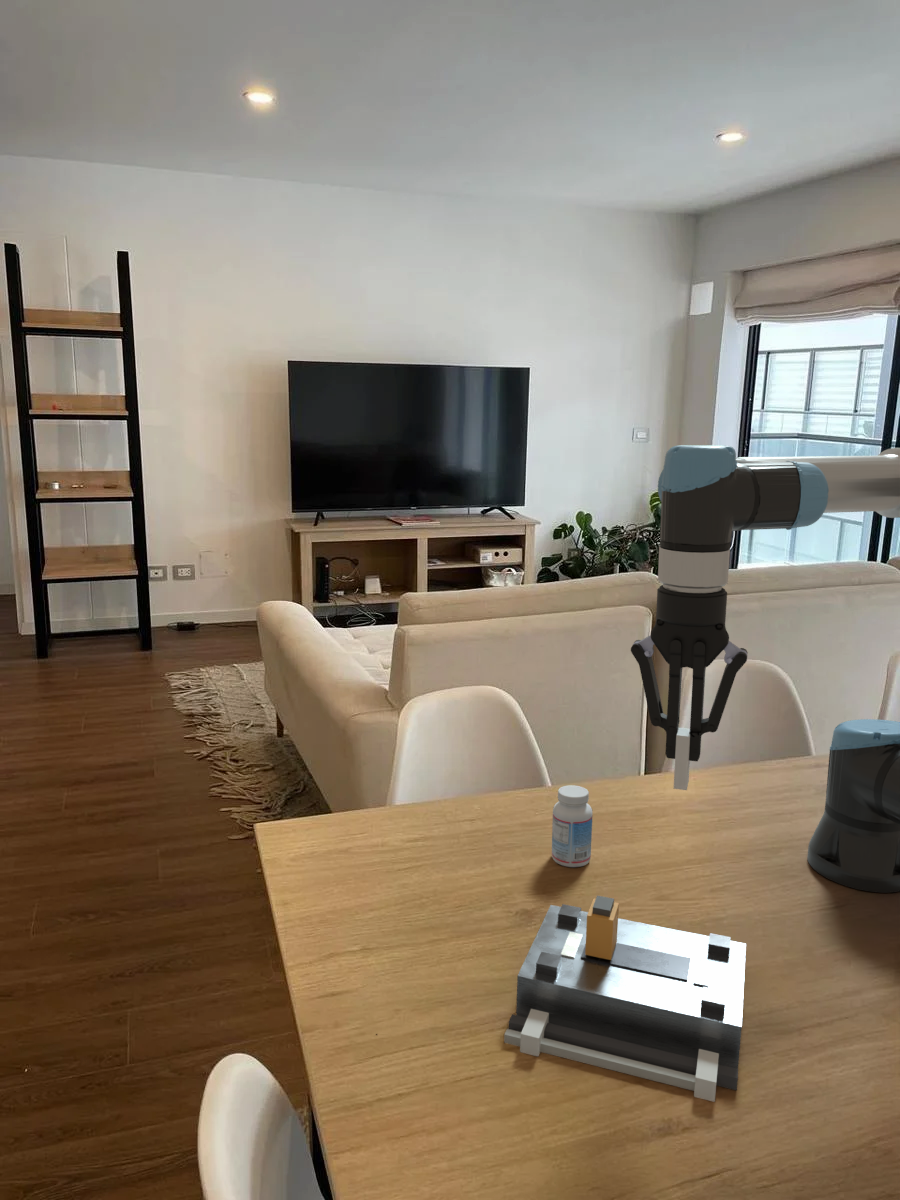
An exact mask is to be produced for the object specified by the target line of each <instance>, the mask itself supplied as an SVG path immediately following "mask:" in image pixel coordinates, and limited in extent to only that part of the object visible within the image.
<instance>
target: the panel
mask: <svg viewBox="0 0 900 1200" xmlns="http://www.w3.org/2000/svg"><path fill="white" fill-rule="evenodd" d="M588 912H589V911H584V910H582V907H579V906H574V905H569V904H563V903H562V904H561V905H560V906H558V905H552V904H550V905H549V908H548V910H547V912H546V914H545V916H544V917H543V921H542V923H541V925H540V926H539V927H540V928H539V929H538V932H537V933H536V936H535V937H534V940H533V942H532V944H531V946H530V948H529V950H528V953H527V955H526V957H525V959H524V961H523V963H522V965H521V967H520V970H519V971H518V974H517V978H516V1005H515V1006H516V1008H515V1011H516V1012H515V1015H518V1016H522V1017H526V1018H528V1015H529V1013H530V1010H531V1009H535V1010H539V1011H543V1012H547V1013H549V1022H548V1023H551V1024H555V1025H559V1026H563V1027H567V1028H571V1029H575V1030H579V1031H584V1032H588V1033H592V1034H596V1035H600V1036H604V1037H608V1038H612V1039H616V1040H621V1041H625V1042H629V1043H633V1044H637V1045H641V1046H645V1047H649V1048H654V1049H658V1050H662V1051H666V1052H670V1053H674V1054H678V1055H682V1056H687V1057H691V1058H695V1059H698V1052H699V1049H702V1050H706V1051H711V1052H715V1053H719V1058H718V1064H719V1065H724V1066H728V1067H732V1068H736V1069H738V1070H739V1064H740V1063H739V1062H740V1052H741V1049H740V1048H741V1039H742V1026H743V1010H744V991H745V990H744V989H745V973H746V972H745V970H746V952H747V943H745V942H740V941H736V940H731V936H727V935H722V934H716V933H711V932H709V935H705V934H700V933H695V932H689V931H685V930H678V929H674V928H670V927H669V928H668V927H664V926H659V925H654V924H648V923H643V922H639V921H633V920H630V919H629V920H628V919H625V918H624V919H623V918H620V917H618V928H617V942H616V946H615V949H614V952H613V955H612V959H611V960H608V959H603V958H599V957H594V956H589V955H585V948H586V928H587V914H588Z"/></svg>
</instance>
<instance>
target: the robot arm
mask: <svg viewBox="0 0 900 1200" xmlns="http://www.w3.org/2000/svg"><path fill="white" fill-rule="evenodd" d="M664 457H665V458H664V463H663V469H662V470H661V473H660V474H659V477H658V480H657V481H658V482H657V483H658V484H657V492H658V498H659V500H660V502H661V504H660V505H661V506H660V508H661V509H660V530H659V531H660V533H659V534H660V535H659V539H660V540H659V542H660V543H659V547H658V570H657V581H659V582H660V583H661V584H662V585H659V587H658V588H657V589H656V590H657V591H656V592H657V593H656V611H655V614H656V615H655V623H654V626H653V627H652V629H651V631H650V635H648V636H646V637H645V638H642V639H636V640H635V641H634V642H633V643H632V646H631V647H630V653H631V654H632V655H633V658H634V659H635V661H636V662H637V664H638V665H639V671H640V675H641V676H640V677H641V681H642V685H643V690H644V696H645V700H646V706H647V711H648V715H649V719H650V724H651V725H652V726H654V727H660V728H662V730H664V731H665V735H666V736H665V737H666V738H665V756H666V758H667V759H673V760H674V773H673V789H674V790H681V791H687V790H688V786H689V782H690V763H691V762H699V759H700V757H701V748H702V736H703V735H704V734H705V733H706V734H707V733H715V732H717V731H718V728H719V725H720V722H721V720H722V717H723V714H724V711H725V708H726V705H727V702H728V700H729V696H730V693H731V690H732V687H733V684H734V682H735V679H736V675H737V673H738V672H739V671H740V669H742V668H743V666H745V664H746V663H747V661H748V653H749V652H748V650H747V649H746V648H744V647H738V646H737V645H736V644H734V643H733V642H732V641H730V635H729V633H728V631H727V627H726V617H727V604H728V603H727V601H728V592H727V591H726V589H725V588H724V587H725V586H727V584H728V582H729V569H730V555H731V541H732V534H733V533H732V532H740V531H749V530H750V531H752V530H753V531H754V530H756V531H757V530H779V529H780V530H781V529H782V530H783V529H785V530H787V531H789V530H792V529H795V528H803V527H804V528H805V527H809V526H812V525H814V524H815V523H816V522H818V521H819V520H820V519H821V517H823V514H827V513H828V514H832V513H834V514H835V513H858V512H859V513H860V512H863V513H865V512H876V513H877V514H879V515H881V516H882V517H885V518H891V519H894V518H895V519H896V518H898V519H899V518H900V447H892V448H891V447H890V448H887V449H885V450H883V451H882V452H880V453H879V454H877V455H828V456H827V455H822V456H820V455H819V456H816V455H815V456H807V455H805V456H751V457H750V456H742V457H741V456H739V457H737V453H736V449H735V448H734V447H732V446H730V445H716V444H714V445H713V444H712V445H709V444H708V445H707V444H701V445H700V444H699V445H698V444H695V445H694V444H692V445H691V444H686V445H685V444H681V445H674V446H672V447H670V448H669V449H668V450H667V451H666V454H665V456H664ZM654 645H655V647H656V649H657V650H658V651H659V653H660V655H661V656H662V658H663V659H664V660H665V662H666V663H667V664H668V665H669V667H668V675H669V676H668V691H667V692H668V693H667V710H666V711H667V712H666V713H667V714H666V713H665V712H664V710H663V705H662V701H661V700H662V699H661V695H660V690H659V685H658V679H657V675H656V670H655V664H654V661H653V657H652V656H653V654H654V652H655V649H654ZM723 651H724V652H725V654H724V658H723V660H724V662H725V663H726V666H725V668H724V669H723V670H724V671H723V674H722V676H721V679H720V683H719V685H718V689H717V691H716V694H715V697H714V699H713V703H712V706H711V709H710V713H709V715H708V717H706V718H704V701H705V684H706V682H705V681H706V671H707V669H706V668H707V667H709V666H711V664H712V663H713V662H714V661H715V660H716V658H717V657H718V656H719V655H721V654H722V652H723ZM684 668H690V669H692V683H691V684H692V685H691V686H692V687H691V699H690V700H691V701H690V703H691V704H690V718H689V719H690V721H689V723H690V724H689V728H687V727H680V725H679V724H680V713H681V698H682V697H681V695H682V682H683V681H682V678H683V669H684ZM831 738H832V740H831V743H830V746H829V757H828V768H827V769H828V770H827V782H826V791H825V792H826V794H825V804H824V811H823V815H822V816H821V818H820V819H819V822H818V824H817V826H816V828H815V830H814V833H813V834H812V836H811V838H810V840H809V842H808V848H807V857H806V858H807V862H808V864H809V865H810V867H811V868H812V869H813V870H814V871H816V872H817V873H818V874H819V875H821V876H823V877H824V878H826V879H828V880H830V881H831V882H834V883H837V884H839V885H843V886H845V887H849V888H850V889H851V888H852V889H856V890H860V891H864V892H872V893H884V894H885V893H896V892H897V893H899V892H900V721H898V720H897V721H896V720H889V719H874V718H872V719H871V718H870V719H868V718H866V719H865V718H864V719H863V718H861V719H851V720H846V721H844V722H843V721H842V722H841V723H839V724H838V725H837V726H835V728H834V730H833V732H832V737H831Z"/></svg>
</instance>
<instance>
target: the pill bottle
mask: <svg viewBox="0 0 900 1200" xmlns="http://www.w3.org/2000/svg"><path fill="white" fill-rule="evenodd" d="M589 793H590V791H588V789H587V788H585V787H584V786H579V785H574V784H570V785H564V786H561V787H559V789H558V790H557V799H558V801H557V802H556V803H555V804H554V806H553V808H552V827H551V828H552V830H551V831H552V833H551V834H552V835H551V857H552V859H553V862H555V863H556V864H557V865H558V864H559V865H560V866H563V867H567V868H579V867H584V866H587V864H588V863H590V861H591V858H592V840H593V839H592V836H593V834H592V833H593V809H592V807H591V805H590V804H589V799H590V798H589V797H590V795H589Z"/></svg>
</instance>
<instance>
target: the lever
mask: <svg viewBox="0 0 900 1200" xmlns="http://www.w3.org/2000/svg"><path fill="white" fill-rule="evenodd" d="M619 907H620V903H619V902H616V901H615V898H613V897H607V896H603V895H602V896H601V895H599V894H598V895H596V898H595V897H593V900H592V901H591V904H590V907H589V909H588V911H587V912H588V914H587V928H586V948H585V955H589V956H594V957H599V958H603V959H608V960H611V959H612V955H613V952H614V949H615V946H616V942H617V928H618V918H619V910H620V909H619Z"/></svg>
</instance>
